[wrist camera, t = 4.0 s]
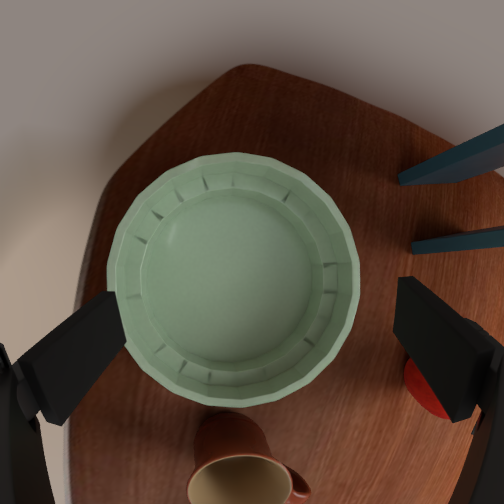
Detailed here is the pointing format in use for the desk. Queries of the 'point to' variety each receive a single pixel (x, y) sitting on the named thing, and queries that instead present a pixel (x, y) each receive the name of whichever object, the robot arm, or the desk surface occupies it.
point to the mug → (240, 466)
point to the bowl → (234, 279)
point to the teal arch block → (455, 170)
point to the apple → (422, 390)
